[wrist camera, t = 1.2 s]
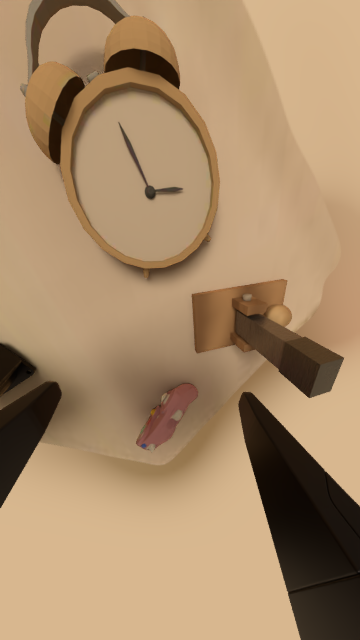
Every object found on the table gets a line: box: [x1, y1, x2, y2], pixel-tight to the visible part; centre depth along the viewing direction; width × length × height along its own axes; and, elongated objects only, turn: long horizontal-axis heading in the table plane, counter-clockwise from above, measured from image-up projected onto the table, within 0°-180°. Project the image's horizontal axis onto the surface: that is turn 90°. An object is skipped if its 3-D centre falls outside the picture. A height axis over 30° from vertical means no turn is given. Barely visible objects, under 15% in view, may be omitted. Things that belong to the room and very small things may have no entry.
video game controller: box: [136, 384, 198, 452], centre depth 24 cm, size 10×5×7 cm, turn 145°
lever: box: [235, 310, 344, 398], centre depth 17 cm, size 2×3×10 cm, turn 5°
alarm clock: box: [20, 0, 220, 278], centre depth 13 cm, size 11×5×15 cm
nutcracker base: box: [192, 279, 292, 353], centre depth 21 cm, size 12×8×4 cm, turn 95°
